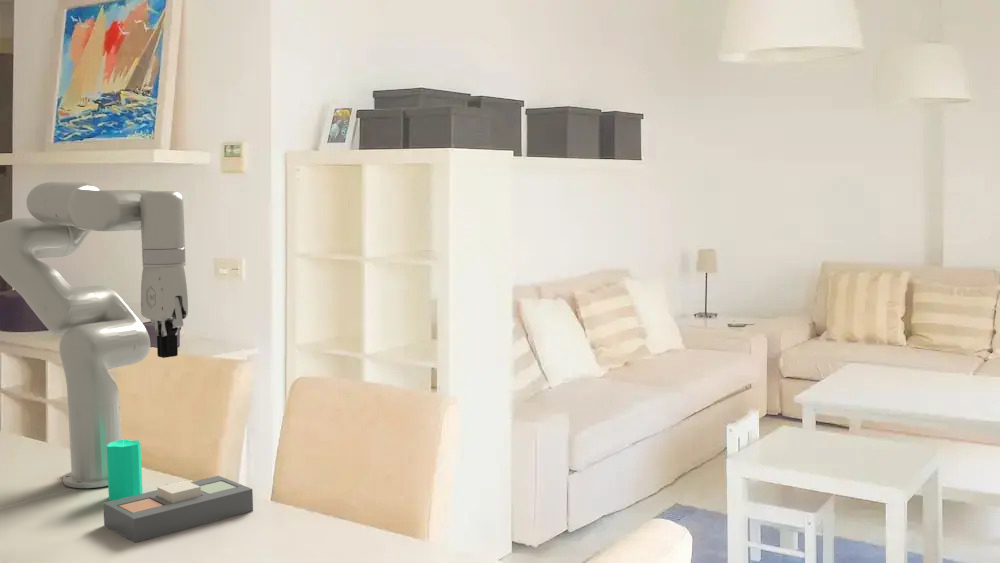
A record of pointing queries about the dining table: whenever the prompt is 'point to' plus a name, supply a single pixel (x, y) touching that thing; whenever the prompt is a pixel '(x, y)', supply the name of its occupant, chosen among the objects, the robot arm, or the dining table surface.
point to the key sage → (216, 487)
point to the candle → (124, 469)
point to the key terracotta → (140, 505)
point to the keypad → (177, 511)
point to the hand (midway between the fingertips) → (167, 356)
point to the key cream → (179, 491)
